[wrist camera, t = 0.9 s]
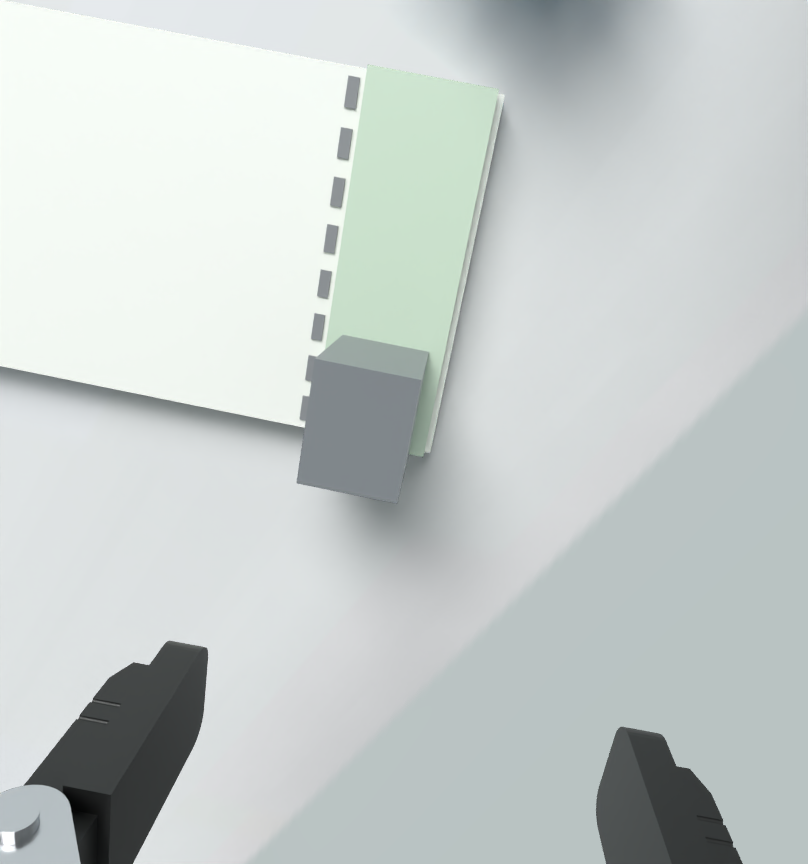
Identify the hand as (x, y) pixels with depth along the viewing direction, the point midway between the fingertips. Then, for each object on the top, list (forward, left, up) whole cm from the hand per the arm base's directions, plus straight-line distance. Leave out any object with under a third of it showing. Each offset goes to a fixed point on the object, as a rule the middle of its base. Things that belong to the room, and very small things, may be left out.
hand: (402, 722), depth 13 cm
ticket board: (-7, -12, -21) cm, 25 cm away
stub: (-7, -3, -20) cm, 21 cm away
